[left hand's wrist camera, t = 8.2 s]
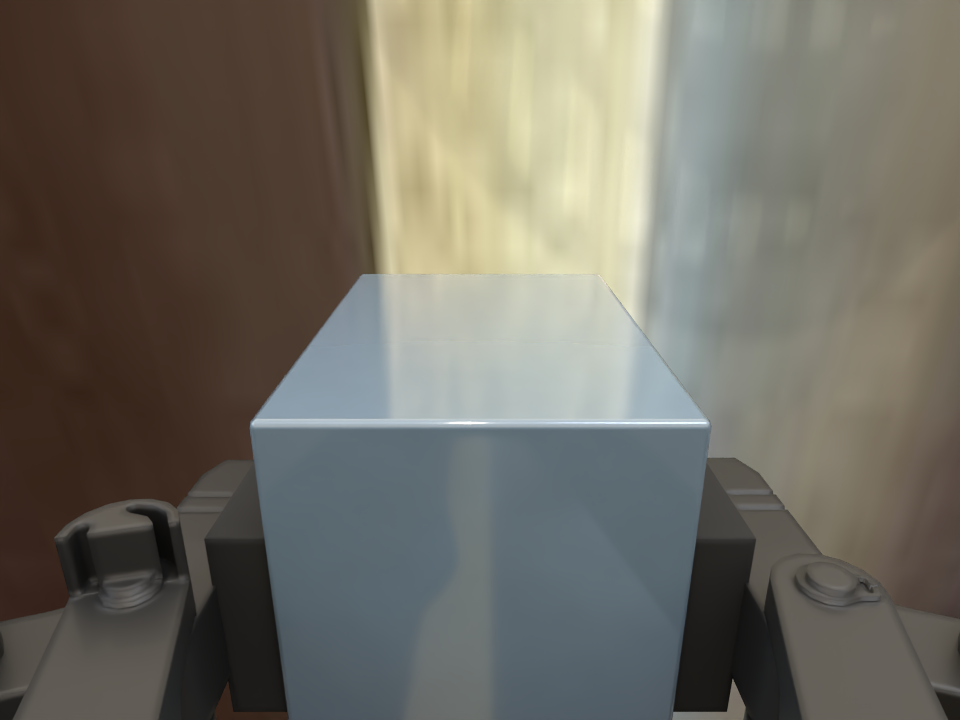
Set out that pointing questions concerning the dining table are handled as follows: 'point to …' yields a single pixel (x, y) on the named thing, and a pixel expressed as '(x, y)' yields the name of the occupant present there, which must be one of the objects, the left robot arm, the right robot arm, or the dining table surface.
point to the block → (480, 505)
